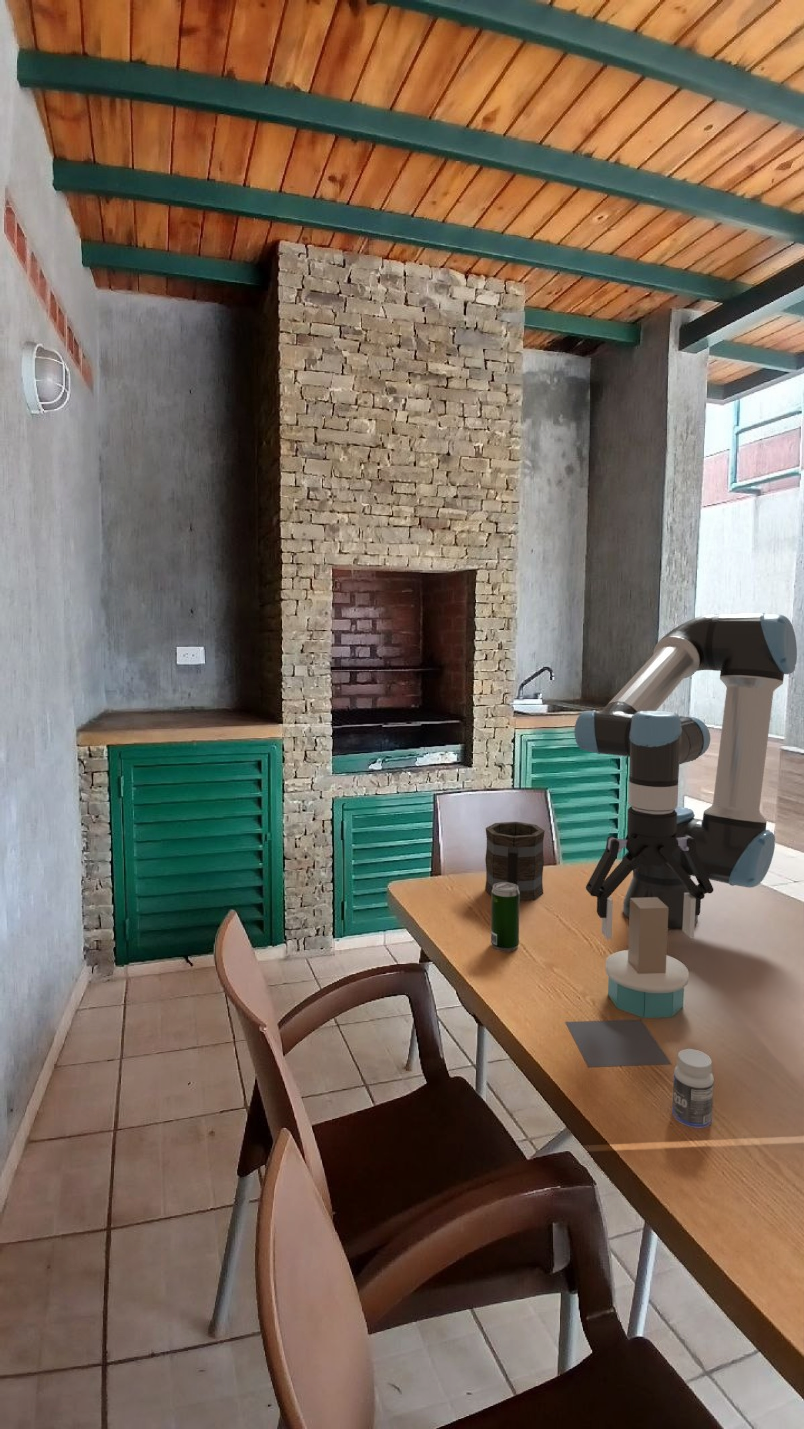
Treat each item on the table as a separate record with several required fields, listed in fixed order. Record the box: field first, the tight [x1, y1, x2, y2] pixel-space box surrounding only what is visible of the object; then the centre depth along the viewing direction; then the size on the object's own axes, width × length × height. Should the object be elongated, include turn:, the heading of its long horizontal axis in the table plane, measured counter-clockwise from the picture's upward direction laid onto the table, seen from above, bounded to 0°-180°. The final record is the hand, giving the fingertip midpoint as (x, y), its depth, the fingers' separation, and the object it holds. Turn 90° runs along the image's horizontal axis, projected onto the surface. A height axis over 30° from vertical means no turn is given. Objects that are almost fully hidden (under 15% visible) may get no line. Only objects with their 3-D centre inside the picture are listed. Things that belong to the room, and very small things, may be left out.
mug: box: [484, 821, 546, 903], centre depth 172 cm, size 20×14×15 cm
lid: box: [605, 897, 690, 993], centre depth 124 cm, size 13×13×12 cm
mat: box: [565, 1018, 673, 1068], centre depth 113 cm, size 12×12×1 cm
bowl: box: [607, 977, 685, 1019], centre depth 125 cm, size 11×11×5 cm
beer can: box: [490, 882, 520, 952], centre depth 146 cm, size 5×5×12 cm
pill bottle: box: [671, 1048, 715, 1129], centre depth 95 cm, size 5×5×8 cm
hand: (647, 935), depth 123 cm, fingers open, 13 cm apart
